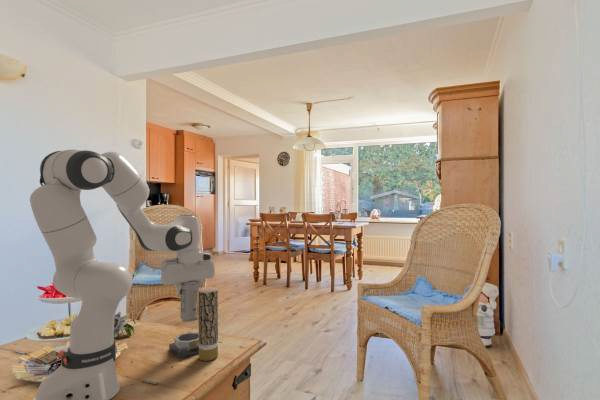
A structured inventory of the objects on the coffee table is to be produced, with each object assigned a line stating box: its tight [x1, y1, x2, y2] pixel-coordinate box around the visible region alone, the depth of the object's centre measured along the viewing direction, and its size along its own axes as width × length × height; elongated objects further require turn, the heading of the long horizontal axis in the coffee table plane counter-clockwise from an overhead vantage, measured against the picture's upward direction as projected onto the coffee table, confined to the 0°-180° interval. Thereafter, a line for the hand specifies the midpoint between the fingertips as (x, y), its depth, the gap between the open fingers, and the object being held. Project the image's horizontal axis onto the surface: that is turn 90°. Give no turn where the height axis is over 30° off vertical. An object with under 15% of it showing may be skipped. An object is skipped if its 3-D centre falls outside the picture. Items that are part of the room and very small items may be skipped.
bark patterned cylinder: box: [198, 286, 219, 362], centre depth 125 cm, size 7×7×25 cm
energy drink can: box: [179, 280, 198, 323], centre depth 131 cm, size 6×6×15 cm
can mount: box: [168, 331, 199, 360], centre depth 131 cm, size 11×11×5 cm
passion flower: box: [114, 311, 137, 338], centre depth 146 cm, size 11×11×12 cm
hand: (188, 292), depth 131 cm, fingers closed on energy drink can, 6 cm apart
